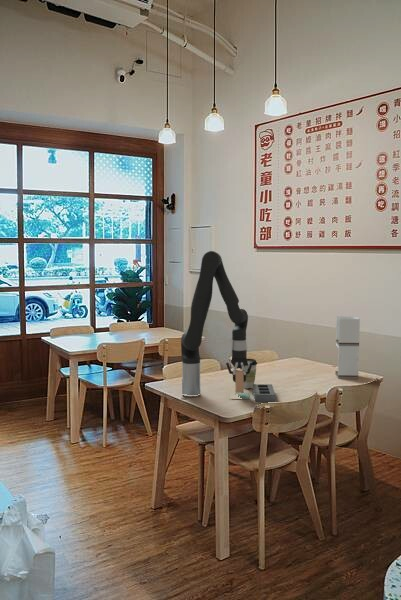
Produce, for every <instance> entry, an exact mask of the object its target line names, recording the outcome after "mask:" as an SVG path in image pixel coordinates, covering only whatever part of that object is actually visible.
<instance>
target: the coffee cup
mask: <svg viewBox="0 0 401 600" xmlns="http://www.w3.org/2000/svg"><path fill="white" fill-rule="evenodd" d="M247 361H249V362H252V363H253V364H252V367H251V370H250V373H249V374H246V381H245V382H244V389H245V388H252V389H253V384H255V381H256V375H257V374H256V373H257V365H258V362H257V359H254V358H247ZM248 367H249V366H248V363H247V364H246V365H245V367H244V368H245V371H247V370H248ZM239 370H242V369H240V368H239Z"/></svg>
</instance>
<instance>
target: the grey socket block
mask: <svg viewBox="0 0 401 600" xmlns="http://www.w3.org/2000/svg"><path fill="white" fill-rule="evenodd" d="M252 395H253V400H254V399H255V400H254V403H255V402H275V401H276V398H277V397H276V392H275V389H274V387H273V384H272V383H270V384H269V383H267V384H266V383H265V384H262V383H261V384H259V383H257V384H256V383H254V384H253V388H252Z"/></svg>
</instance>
